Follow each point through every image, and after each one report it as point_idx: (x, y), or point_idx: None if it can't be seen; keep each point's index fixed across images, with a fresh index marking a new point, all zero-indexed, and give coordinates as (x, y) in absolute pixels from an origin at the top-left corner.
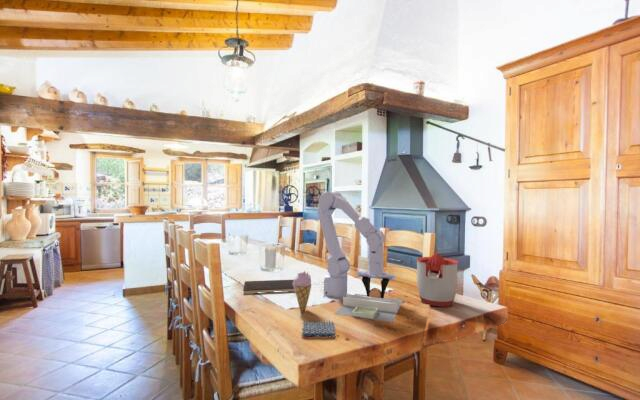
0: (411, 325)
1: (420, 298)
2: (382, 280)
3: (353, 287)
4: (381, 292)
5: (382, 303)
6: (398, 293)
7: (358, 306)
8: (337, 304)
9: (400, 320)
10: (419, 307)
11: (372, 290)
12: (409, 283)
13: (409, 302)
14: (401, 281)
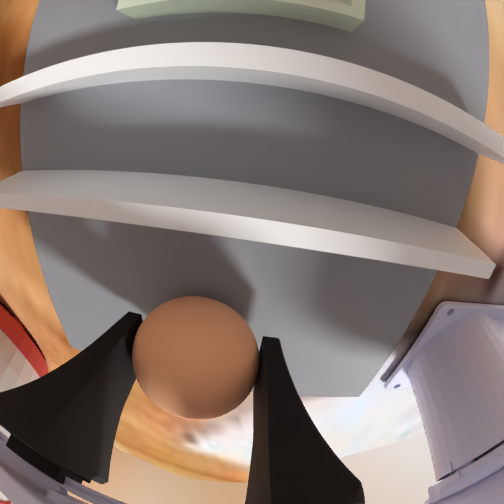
0: (3, 11)
1: (29, 350)
2: (39, 453)
3: (344, 445)
4: (111, 347)
5: (56, 66)
6: (148, 420)
7: (350, 5)
8: (489, 215)
9: (27, 30)
10: (9, 277)
11: (210, 381)
12: (157, 460)
13: (60, 336)
14: (183, 469)
